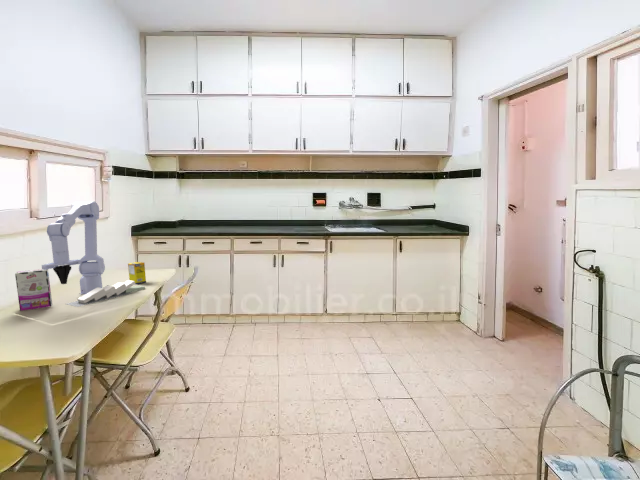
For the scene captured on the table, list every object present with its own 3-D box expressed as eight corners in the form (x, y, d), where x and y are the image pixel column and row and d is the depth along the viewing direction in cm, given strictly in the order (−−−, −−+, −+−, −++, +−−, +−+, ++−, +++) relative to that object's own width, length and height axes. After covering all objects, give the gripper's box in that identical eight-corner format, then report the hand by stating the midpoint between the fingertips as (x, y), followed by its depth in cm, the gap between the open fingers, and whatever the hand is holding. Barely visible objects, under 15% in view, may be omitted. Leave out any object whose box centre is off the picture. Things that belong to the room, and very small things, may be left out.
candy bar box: (52, 305, 181) (48, 268, 179) (51, 308, 177) (47, 269, 175) (21, 309, 176) (16, 271, 174) (19, 312, 172) (14, 273, 170)
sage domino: (126, 289, 197) (145, 286, 205) (120, 288, 199) (139, 285, 208) (126, 292, 197) (145, 289, 205) (120, 291, 200) (139, 288, 208)
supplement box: (146, 282, 223) (144, 262, 221) (136, 284, 218) (134, 264, 216) (139, 281, 226) (137, 261, 224) (129, 283, 221) (127, 263, 219)
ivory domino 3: (106, 294, 188) (124, 283, 196) (99, 293, 191) (118, 282, 198) (107, 297, 189) (126, 286, 196) (101, 296, 191) (119, 285, 199)
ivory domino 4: (116, 292, 192) (134, 281, 200) (110, 291, 195) (127, 280, 202) (117, 295, 193) (135, 283, 200) (111, 294, 196) (129, 282, 203)
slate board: (77, 308, 175) (77, 306, 175) (65, 305, 181) (65, 303, 180) (133, 294, 197) (133, 292, 197) (121, 291, 202) (120, 290, 202)
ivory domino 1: (83, 300, 179) (103, 288, 187) (76, 299, 182) (97, 287, 190) (84, 303, 180) (105, 291, 188) (78, 302, 183) (98, 290, 190)
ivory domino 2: (94, 297, 184) (114, 286, 191) (88, 296, 186) (107, 285, 194) (95, 300, 184) (115, 289, 192) (89, 299, 187) (109, 288, 194)
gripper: (46, 254, 165) (50, 288, 167) (83, 249, 177) (86, 281, 179) (37, 253, 169) (41, 286, 170) (74, 248, 181) (77, 279, 183)
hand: (63, 283), depth 175 cm, fingers closed
